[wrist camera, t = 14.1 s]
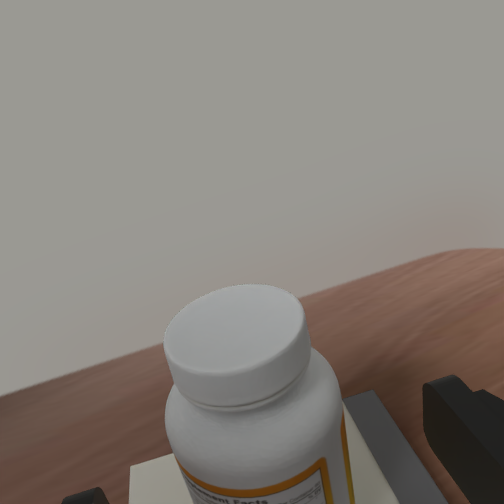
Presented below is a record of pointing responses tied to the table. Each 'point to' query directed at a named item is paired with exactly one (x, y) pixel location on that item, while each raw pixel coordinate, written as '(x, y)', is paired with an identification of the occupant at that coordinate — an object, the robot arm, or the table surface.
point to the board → (360, 453)
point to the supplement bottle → (254, 403)
